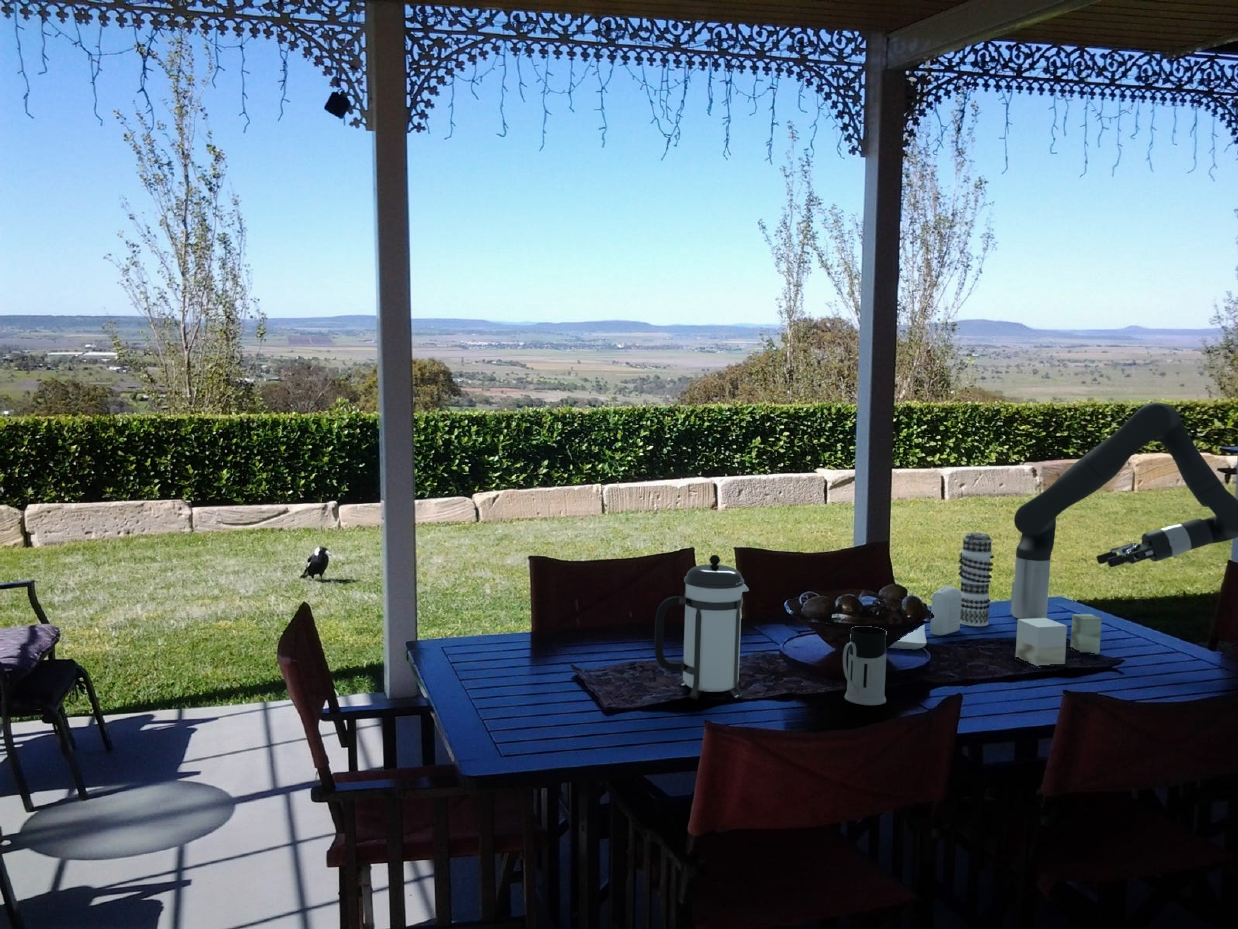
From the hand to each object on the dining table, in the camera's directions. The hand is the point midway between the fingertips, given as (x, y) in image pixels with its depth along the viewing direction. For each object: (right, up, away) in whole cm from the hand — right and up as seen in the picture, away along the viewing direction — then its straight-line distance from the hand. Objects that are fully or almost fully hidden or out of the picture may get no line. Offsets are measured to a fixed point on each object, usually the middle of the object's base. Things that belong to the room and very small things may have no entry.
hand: (1102, 561), depth 280 cm
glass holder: (-72, -26, -46) cm, 89 cm away
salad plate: (-55, -21, +5) cm, 59 cm away
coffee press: (-105, -25, -42) cm, 115 cm away
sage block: (-5, -23, -1) cm, 23 cm away
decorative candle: (-25, -19, +26) cm, 41 cm away
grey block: (-21, -19, -13) cm, 30 cm away
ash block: (-21, -24, -12) cm, 34 cm away
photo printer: (-36, -20, +15) cm, 44 cm away
